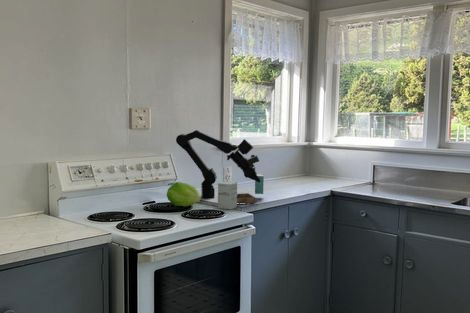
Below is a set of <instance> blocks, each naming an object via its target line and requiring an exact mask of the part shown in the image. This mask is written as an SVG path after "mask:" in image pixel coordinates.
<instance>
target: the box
mask: <svg viewBox="0 0 470 313" xmlns="http://www.w3.org/2000/svg"><path fill="white" fill-rule="evenodd" d="M237 203H256V204H257V198H256V197H255V196H254V195H252V194H250V193H249V192H246V193H237Z"/></svg>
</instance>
